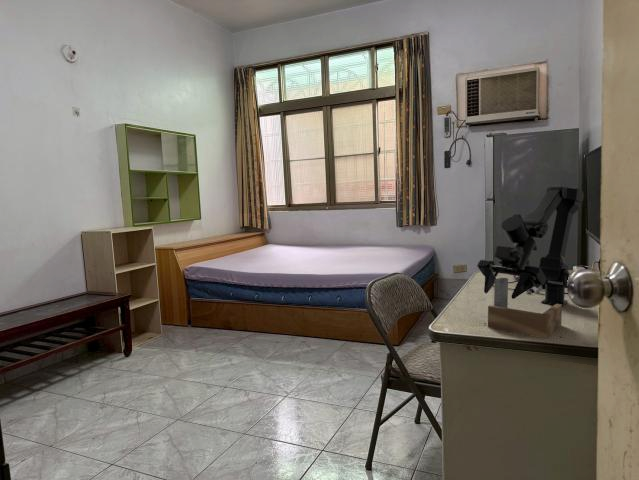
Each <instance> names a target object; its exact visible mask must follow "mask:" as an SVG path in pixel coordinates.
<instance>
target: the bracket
mask: <svg viewBox="0 0 639 480" xmlns="http://www.w3.org/2000/svg"><path fill="white" fill-rule="evenodd" d="M493 288H494V290H493V291H494V293H493V295H494V296H493V299H494V301H493V306H498V307H504V308H509V307H508V305H509V304H508V303H509V301H508V298H509V278H507V277H500V278H496V279H495V283H494V287H493Z"/></svg>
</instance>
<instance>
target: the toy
mask: <svg viewBox="0 0 639 480" xmlns="http://www.w3.org/2000/svg"><path fill="white" fill-rule="evenodd" d="M525 266H527V265H525ZM524 268H525V267H524ZM523 270H525V269H523ZM512 276H513V281H516V280H519V278H520V276H514V275H512ZM531 289H532V290H533V291H534V294H539V293H540V292H541V291H543V286H540V285H539V286H538V287H532V288H531ZM526 293H527V294H531V293H532V292H531V290H530V289H529V290H527V291H526Z"/></svg>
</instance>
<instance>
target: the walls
mask: <svg viewBox="0 0 639 480" xmlns="http://www.w3.org/2000/svg"><path fill="white" fill-rule="evenodd" d="M562 315H563V306H562V304H555V305H552V306H551V307H549V308H548V309H547V310H546V311H544V312H543V313H540V312H533V311H527V310H521V309H517V308H510V307H508V308H504V307H498V306H494V305H488V306H487V328H490V329H491V328H492V329H496V330H501V331H507V332H511V333H515V334H521V335H527V336H532V337H536V338H543V339H547V338H549V336H550V334H551V335H552V334H553V333H554V332H555V331H556V330H557V329H559V328H560V327H561V326H562V321H563V320H562V318H563V317H562Z"/></svg>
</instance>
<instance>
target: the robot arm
mask: <svg viewBox="0 0 639 480" xmlns="http://www.w3.org/2000/svg"><path fill="white" fill-rule="evenodd" d="M584 194H585V193H584V191H582V190H581V189H580V188H579V187H566V186H563V185H561V186H560V185H557V186H556V185H554V186H553V185H551V186H550V187H549V186H548V187H547V189H546V193H545V194H544V196H543V197H542V199H541V200H540V201H539V202H538V204H537V206H535V209H534V210H533V211H532V212H530V213H528V214H525V215H524V216H523V217H522V215H521V214H519V213H513V215H512V216H511V217H507V218H506V219H504V220H503V221H502V222H501V229H502V230H503V232H504V234H505V236H506V238H507V239H508V240H509V242H511V243H512V245H511V246H504V245H502V246H501V245H496V248H495V251H494V255H493V257H494V258H497V259H499V260H498V263H499V264H500V265H496V264H495V262H494V261H493V260H488V259H480V260H479V261H478V263H477V265H476V267H477V268H478V269H479V271H480V272H481V274H482V275H483V276H484V285H483V287H484V288H483V292H484V294H486V295H487V294H488V293H489V292H490V290H491V289H492V288H493V286H495V279H497V276H498V275H499V274H504V275H509V276H513V275H514V276H520V278H519V279H518V281H517V283H516V285H515V288H514V289H513V291H512V293H511V296H510V297H511V299H513V300H514V299H516V298H518V297H519V296H521V295H522V294H523V293H525V292H527V290H530V289H532V287H536V288H538V287H537V286H539V287H540V286H542V287H543V286H544V287H545V288H544V289H545V290H544V292H545V293H544V299H543V300H541V303H542V304H547V305H552V306H554V305H555V304H562V307H563V306H565V304H568V300H567V299H565V293H566V292H565V291H566V288H568V287H567V280H568V277H569V275H571V274H570V272H569V264H568V262H567V260H566V257H565V255H566V251H567V245H568V240H569V235H570V231H571V225H572V221H573V216H574V215H575V214H576V213H577V212H578V210H579V209H580V208H581V205H582V202H583V200H584V196H585V195H584ZM554 212H556V214H555V218H554V222H553V223H554V224H553V227H552V228H553V229H552V234H551V237H550V238H551V239H550V242H549V243H550V244H549V247H548V248H549V249H548V253H547V254H546V255H545V256H541V258H540V259H539V260H540V262H539V266H537V265H531V264H530V260H529V259H530V257H531V255H532V253H533V251H537V250H538V246H537V243H536V240H535V239H542V238H544V237H545V235H547V233H548V229H549V224H548V222H549V219H550V217H552V215H553V214H554ZM525 265H527V266H525ZM524 267H525V268H524ZM523 269H525V270H523Z"/></svg>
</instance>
